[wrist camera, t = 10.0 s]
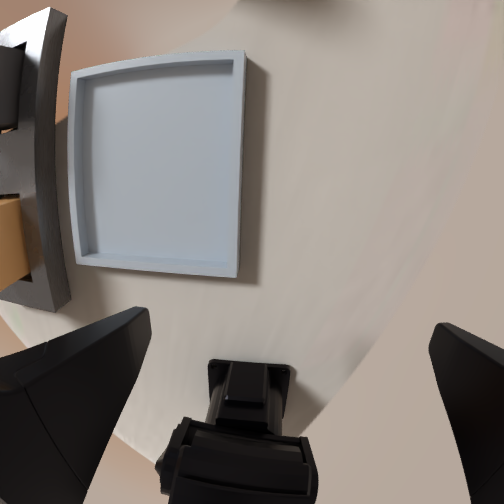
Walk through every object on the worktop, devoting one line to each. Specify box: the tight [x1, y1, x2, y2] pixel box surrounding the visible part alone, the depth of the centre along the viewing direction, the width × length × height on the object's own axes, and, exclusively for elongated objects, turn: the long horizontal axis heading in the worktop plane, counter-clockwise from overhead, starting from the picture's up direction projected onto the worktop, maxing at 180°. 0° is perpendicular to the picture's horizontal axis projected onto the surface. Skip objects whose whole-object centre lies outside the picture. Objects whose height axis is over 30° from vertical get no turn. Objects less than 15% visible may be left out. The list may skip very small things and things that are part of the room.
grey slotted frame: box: [0, 7, 71, 313], centre depth 19 cm, size 24×9×2 cm, turn 178°
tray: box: [67, 50, 247, 278], centre depth 19 cm, size 14×12×2 cm
